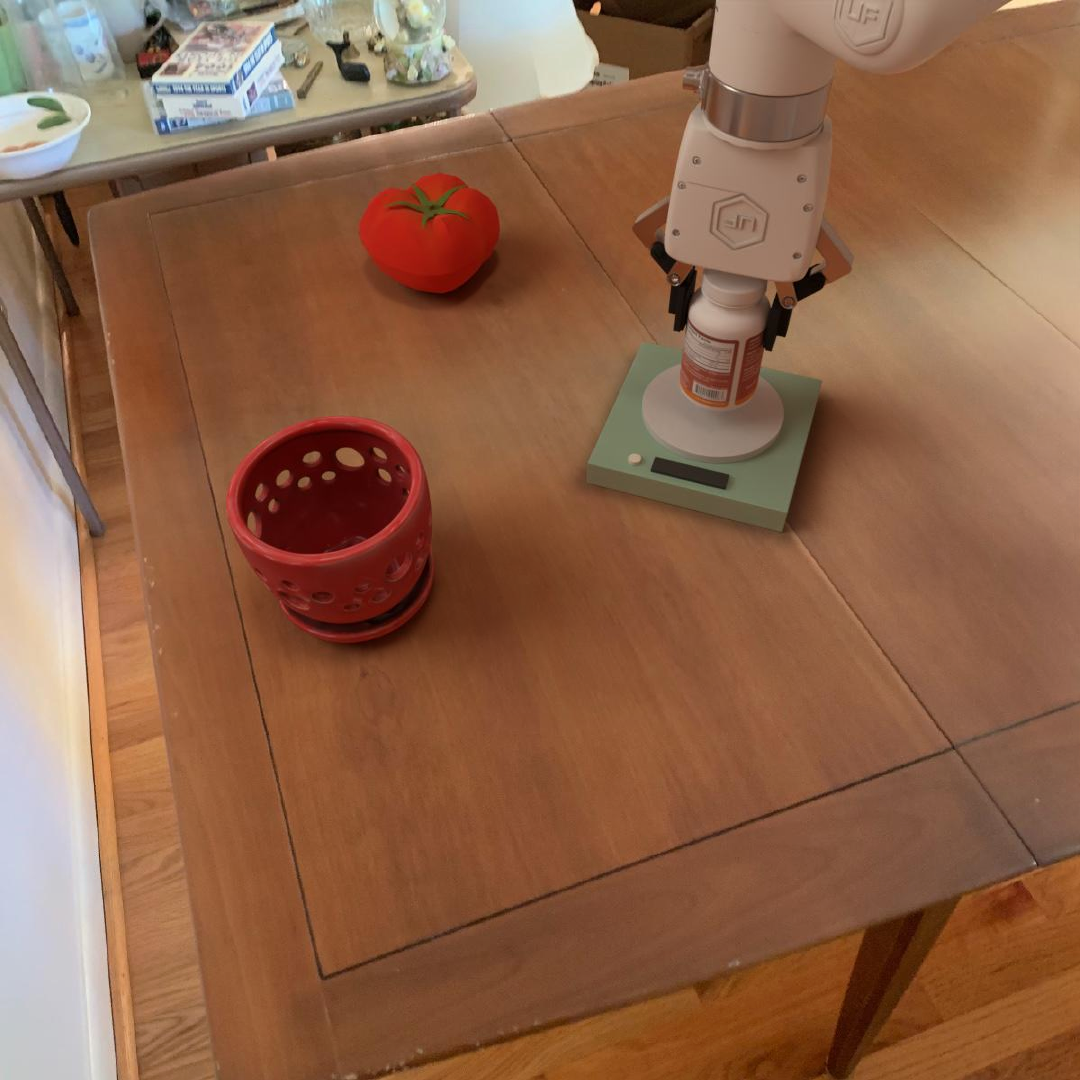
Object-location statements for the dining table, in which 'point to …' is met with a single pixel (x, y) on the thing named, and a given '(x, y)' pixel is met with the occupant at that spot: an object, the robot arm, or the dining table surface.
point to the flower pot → (337, 527)
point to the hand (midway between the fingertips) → (726, 328)
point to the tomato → (430, 232)
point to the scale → (705, 442)
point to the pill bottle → (724, 340)
